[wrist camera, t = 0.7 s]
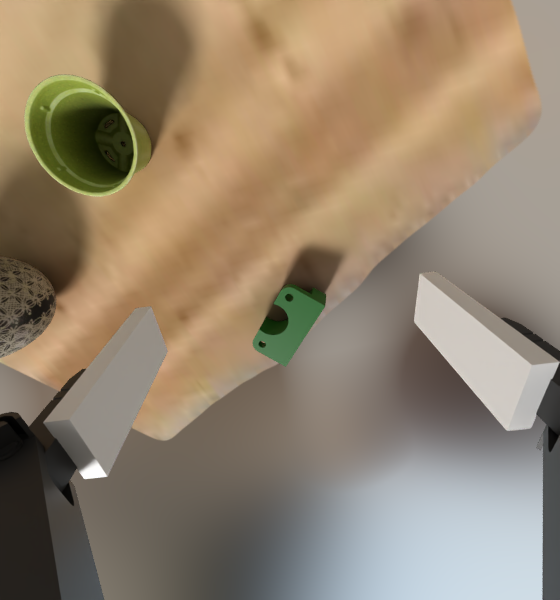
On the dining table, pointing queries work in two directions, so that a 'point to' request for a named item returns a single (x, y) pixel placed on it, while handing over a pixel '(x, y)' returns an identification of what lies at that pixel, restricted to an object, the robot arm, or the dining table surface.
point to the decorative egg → (23, 304)
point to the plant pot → (84, 136)
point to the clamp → (289, 323)
